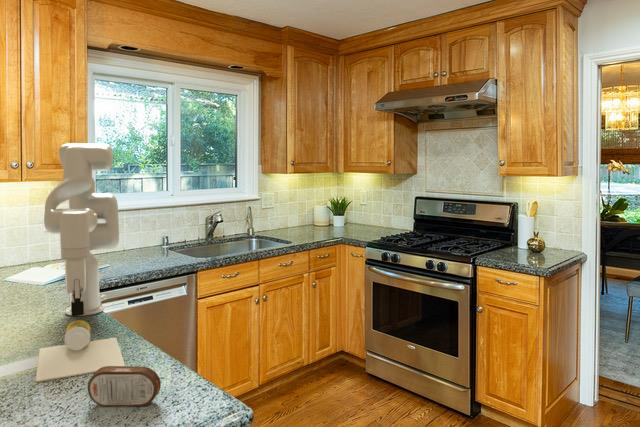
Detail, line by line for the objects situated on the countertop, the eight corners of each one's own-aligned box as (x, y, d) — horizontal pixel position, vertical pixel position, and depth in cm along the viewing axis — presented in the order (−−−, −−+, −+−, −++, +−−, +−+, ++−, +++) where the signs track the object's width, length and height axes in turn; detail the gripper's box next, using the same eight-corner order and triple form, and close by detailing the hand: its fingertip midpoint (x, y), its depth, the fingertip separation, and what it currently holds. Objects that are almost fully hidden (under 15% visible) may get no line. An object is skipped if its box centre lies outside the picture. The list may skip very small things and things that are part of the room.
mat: (39, 349, 138) (39, 348, 138) (116, 338, 147) (116, 337, 147) (35, 382, 116) (35, 380, 116) (125, 367, 126) (125, 365, 126)
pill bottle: (94, 322, 146) (94, 334, 135) (84, 343, 145) (84, 356, 135) (71, 316, 143) (69, 327, 132) (62, 336, 142) (59, 350, 132)
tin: (161, 401, 108) (160, 364, 107) (157, 408, 105) (156, 370, 104) (92, 402, 107) (91, 364, 106) (86, 409, 104) (84, 370, 103)
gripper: (60, 250, 147) (63, 310, 149) (60, 258, 134) (63, 323, 135) (88, 248, 150) (90, 306, 152) (91, 256, 137) (93, 320, 139)
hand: (77, 314), depth 144 cm, fingers closed
